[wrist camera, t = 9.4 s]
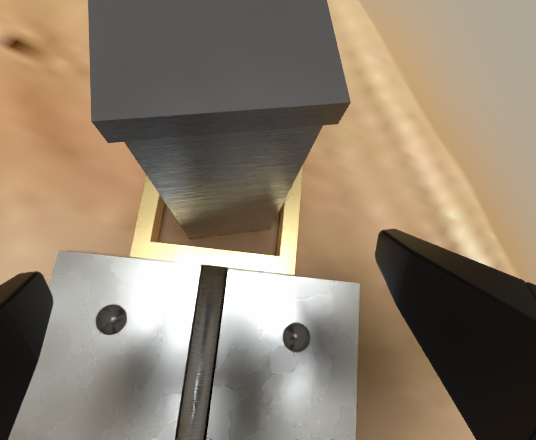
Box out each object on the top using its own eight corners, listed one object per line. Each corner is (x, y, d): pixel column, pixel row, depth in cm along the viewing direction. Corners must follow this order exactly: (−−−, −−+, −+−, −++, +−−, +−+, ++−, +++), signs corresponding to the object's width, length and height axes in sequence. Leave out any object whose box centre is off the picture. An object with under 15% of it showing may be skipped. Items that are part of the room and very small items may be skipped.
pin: (274, 232, 18) (350, 102, 6) (186, 243, 17) (91, 121, 6) (261, 153, 19) (307, -82, 7) (178, 160, 19) (85, -84, 7)
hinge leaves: (346, 578, 15) (359, 608, 13) (-17, 563, 13) (-47, 595, 12) (359, 151, 20) (369, 139, 18) (100, 114, 19) (89, 99, 17)
